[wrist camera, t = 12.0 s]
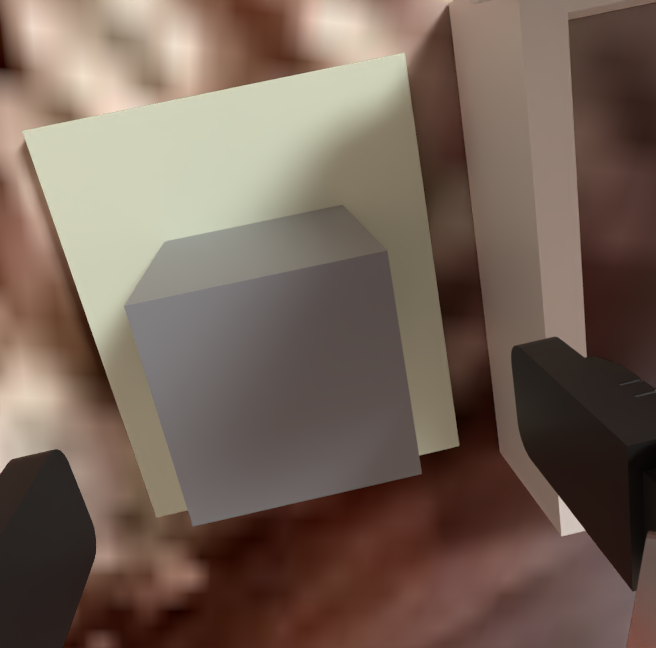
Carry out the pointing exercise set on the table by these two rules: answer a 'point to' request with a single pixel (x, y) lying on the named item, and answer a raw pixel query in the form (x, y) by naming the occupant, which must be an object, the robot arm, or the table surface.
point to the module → (275, 363)
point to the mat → (244, 214)
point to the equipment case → (523, 192)
